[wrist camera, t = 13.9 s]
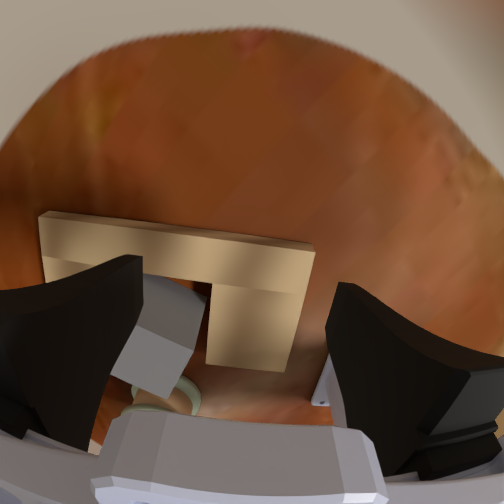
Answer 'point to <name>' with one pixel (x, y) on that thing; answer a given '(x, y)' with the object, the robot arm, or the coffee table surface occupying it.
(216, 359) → the notched board
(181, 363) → the block
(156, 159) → the coffee table surface
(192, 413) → the bobbin
